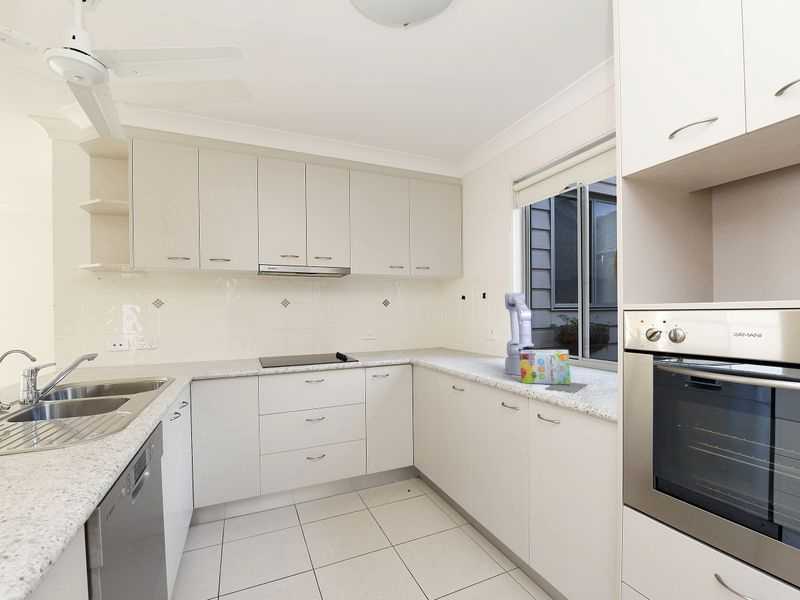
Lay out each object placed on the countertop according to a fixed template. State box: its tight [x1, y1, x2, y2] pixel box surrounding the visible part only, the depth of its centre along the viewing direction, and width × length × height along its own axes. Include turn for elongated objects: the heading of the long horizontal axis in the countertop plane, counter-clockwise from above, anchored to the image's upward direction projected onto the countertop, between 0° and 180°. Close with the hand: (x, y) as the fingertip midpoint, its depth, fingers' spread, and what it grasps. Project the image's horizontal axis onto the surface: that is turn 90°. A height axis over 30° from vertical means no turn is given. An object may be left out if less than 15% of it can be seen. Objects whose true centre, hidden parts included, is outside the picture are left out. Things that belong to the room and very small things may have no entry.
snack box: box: [519, 349, 571, 385], centre depth 171 cm, size 21×6×15 cm, turn 65°
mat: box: [545, 381, 588, 394], centre depth 164 cm, size 12×20×1 cm, turn 139°
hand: (525, 362), depth 178 cm, fingers closed
